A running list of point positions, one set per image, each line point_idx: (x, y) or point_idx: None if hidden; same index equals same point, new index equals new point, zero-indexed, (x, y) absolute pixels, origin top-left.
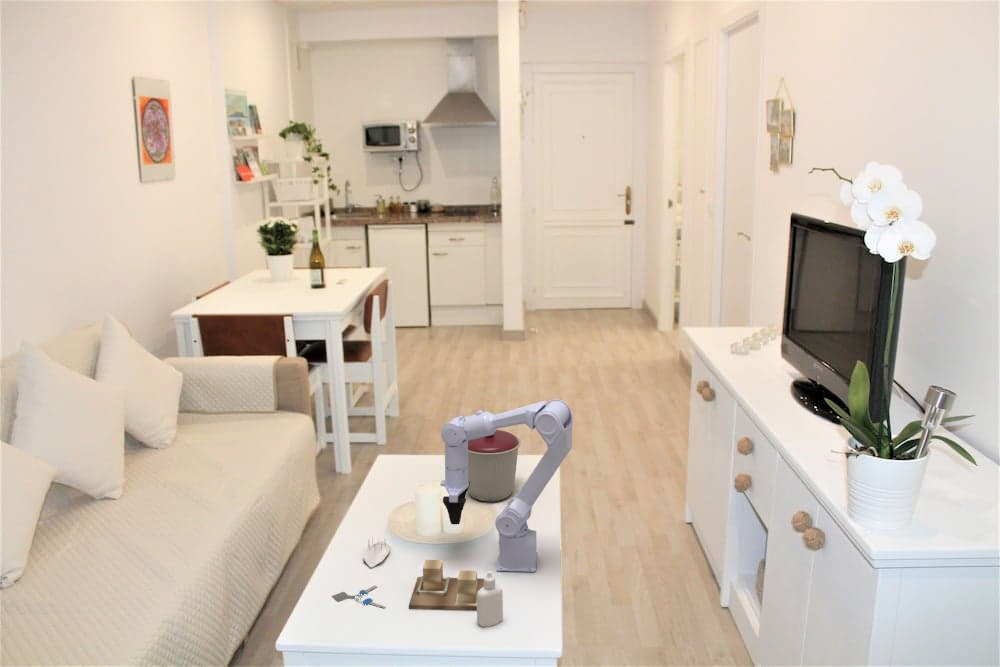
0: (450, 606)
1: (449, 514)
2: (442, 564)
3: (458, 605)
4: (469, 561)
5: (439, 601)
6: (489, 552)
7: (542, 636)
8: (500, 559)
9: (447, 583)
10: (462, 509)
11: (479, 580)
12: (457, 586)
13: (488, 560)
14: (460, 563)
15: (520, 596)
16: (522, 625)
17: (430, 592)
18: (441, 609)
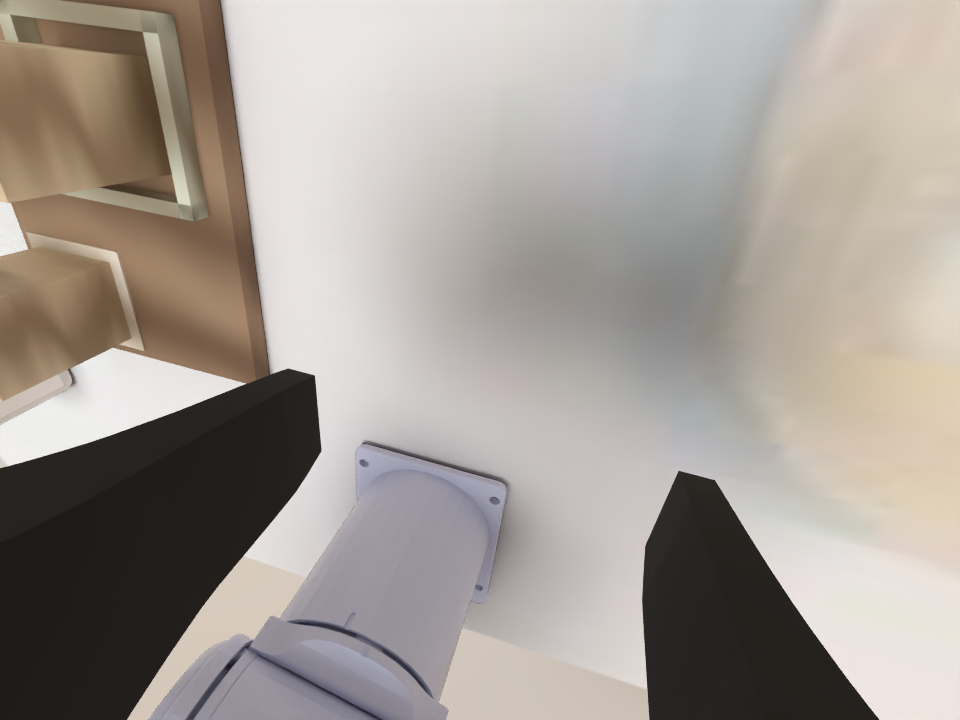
0: (16, 207)
1: (140, 435)
2: (44, 196)
3: (31, 246)
4: (459, 338)
5: None
6: (549, 449)
7: None
8: (385, 489)
9: (133, 203)
10: (647, 554)
11: (239, 362)
12: (165, 254)
13: (465, 428)
14: (438, 286)
15: None
16: (63, 437)
17: None
18: None
